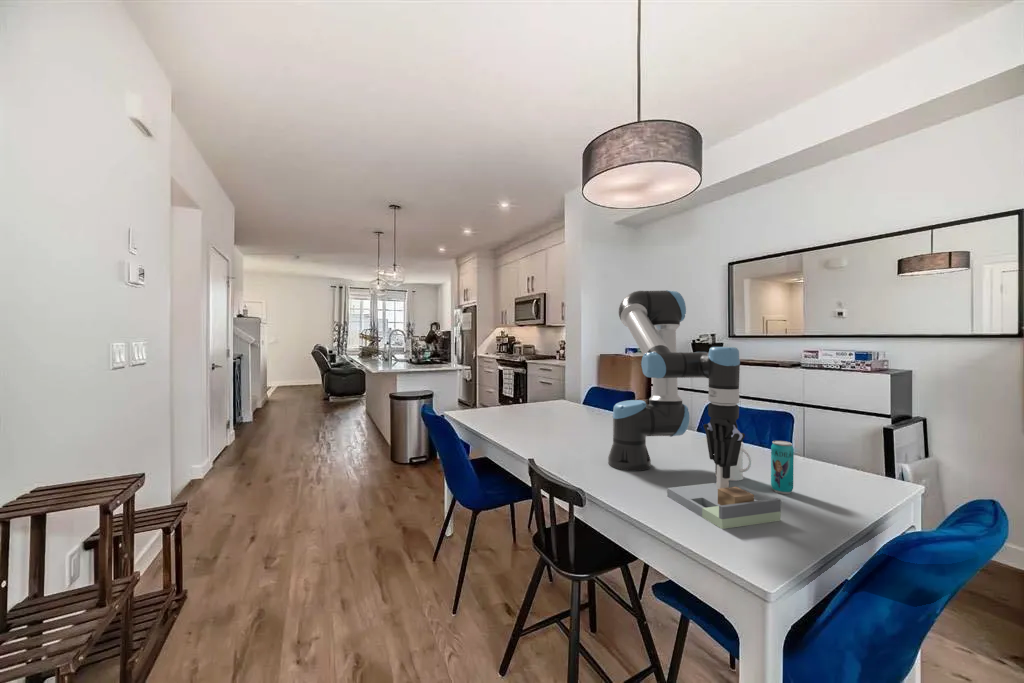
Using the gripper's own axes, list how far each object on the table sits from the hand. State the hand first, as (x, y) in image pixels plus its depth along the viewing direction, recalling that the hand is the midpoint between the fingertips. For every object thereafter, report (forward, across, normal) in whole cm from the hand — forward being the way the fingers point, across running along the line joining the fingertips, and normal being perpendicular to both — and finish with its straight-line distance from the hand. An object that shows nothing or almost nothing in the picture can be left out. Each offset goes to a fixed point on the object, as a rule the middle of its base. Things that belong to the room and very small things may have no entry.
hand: (722, 488), depth 115 cm
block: (+3, +5, 0) cm, 6 cm away
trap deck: (+6, -1, 0) cm, 6 cm away
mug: (+6, -20, +22) cm, 30 cm away
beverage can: (+6, -6, +27) cm, 28 cm away
